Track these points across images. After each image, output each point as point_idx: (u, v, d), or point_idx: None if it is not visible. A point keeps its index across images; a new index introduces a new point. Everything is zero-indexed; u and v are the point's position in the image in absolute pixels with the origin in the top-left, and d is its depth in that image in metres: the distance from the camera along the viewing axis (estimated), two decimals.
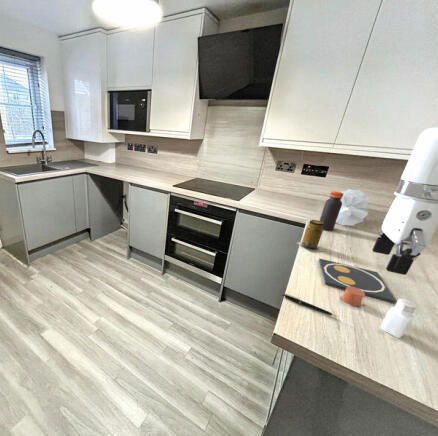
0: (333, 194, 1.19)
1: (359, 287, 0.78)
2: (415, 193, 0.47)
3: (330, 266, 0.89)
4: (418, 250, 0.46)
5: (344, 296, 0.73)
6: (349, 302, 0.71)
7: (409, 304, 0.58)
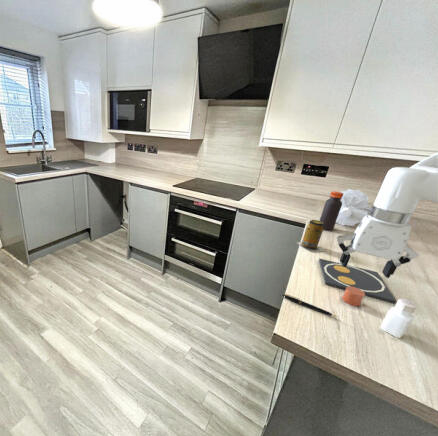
0: (333, 194, 1.19)
1: (359, 287, 0.78)
2: None
3: (330, 266, 0.89)
4: None
5: (344, 296, 0.73)
6: (349, 302, 0.71)
7: (409, 304, 0.58)
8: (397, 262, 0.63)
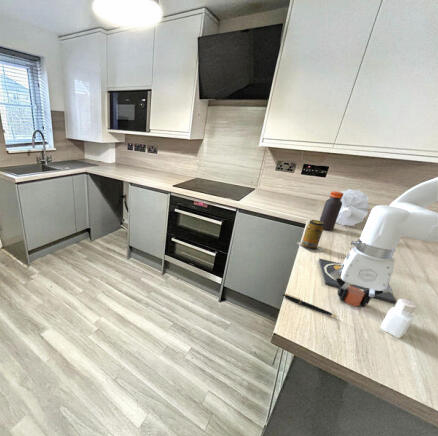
0: (333, 194, 1.19)
1: (359, 287, 0.78)
2: None
3: (330, 266, 0.89)
4: None
5: None
6: (349, 302, 0.71)
7: (409, 304, 0.58)
8: (372, 293, 0.68)
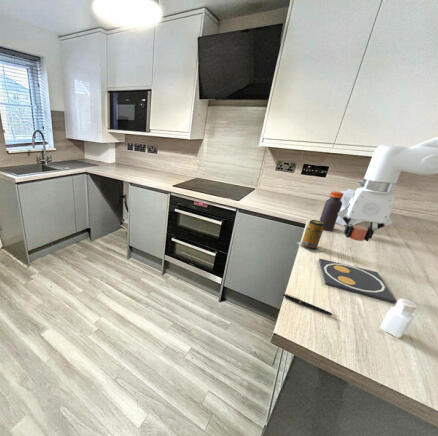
0: (333, 194, 1.19)
1: (359, 287, 0.78)
2: None
3: (330, 266, 0.89)
4: (340, 216, 0.81)
5: None
6: (354, 237, 0.80)
7: (409, 304, 0.58)
8: (375, 227, 0.77)
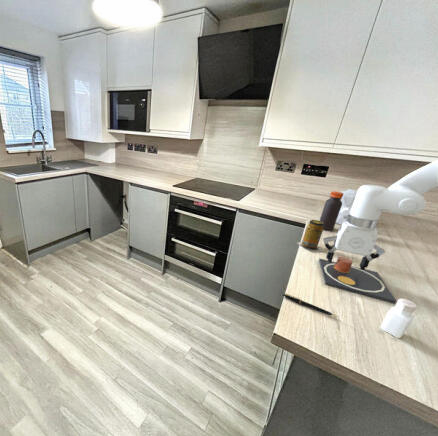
0: (333, 194, 1.19)
1: (359, 287, 0.78)
2: None
3: (330, 266, 0.89)
4: None
5: (336, 264, 0.88)
6: (340, 269, 0.86)
7: (409, 304, 0.58)
8: (369, 258, 0.81)
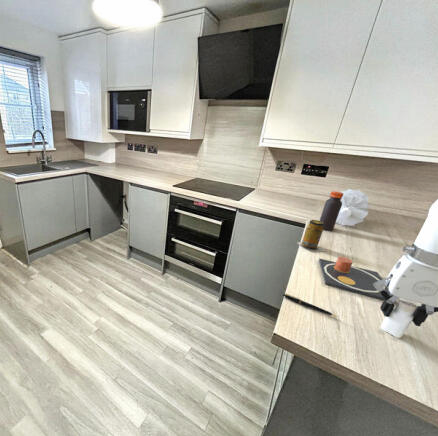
0: (333, 194, 1.19)
1: (359, 287, 0.78)
2: None
3: (330, 266, 0.89)
4: (376, 288, 0.61)
5: (336, 264, 0.88)
6: (340, 269, 0.86)
7: (409, 304, 0.58)
8: (430, 311, 0.56)
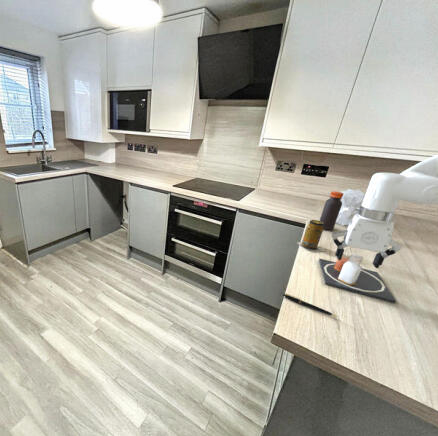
0: (333, 194, 1.19)
1: (359, 287, 0.78)
2: None
3: (330, 266, 0.89)
4: (332, 237, 0.79)
5: (336, 264, 0.88)
6: (340, 269, 0.86)
7: (357, 257, 0.77)
8: (384, 254, 0.73)
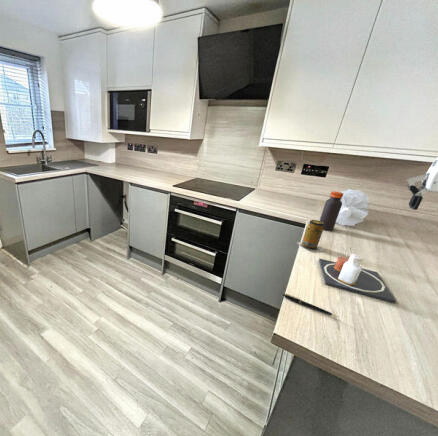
0: (333, 194, 1.19)
1: (359, 287, 0.78)
2: None
3: (330, 266, 0.89)
4: (408, 183, 0.68)
5: (336, 264, 0.88)
6: (340, 269, 0.86)
7: (357, 257, 0.77)
8: None
